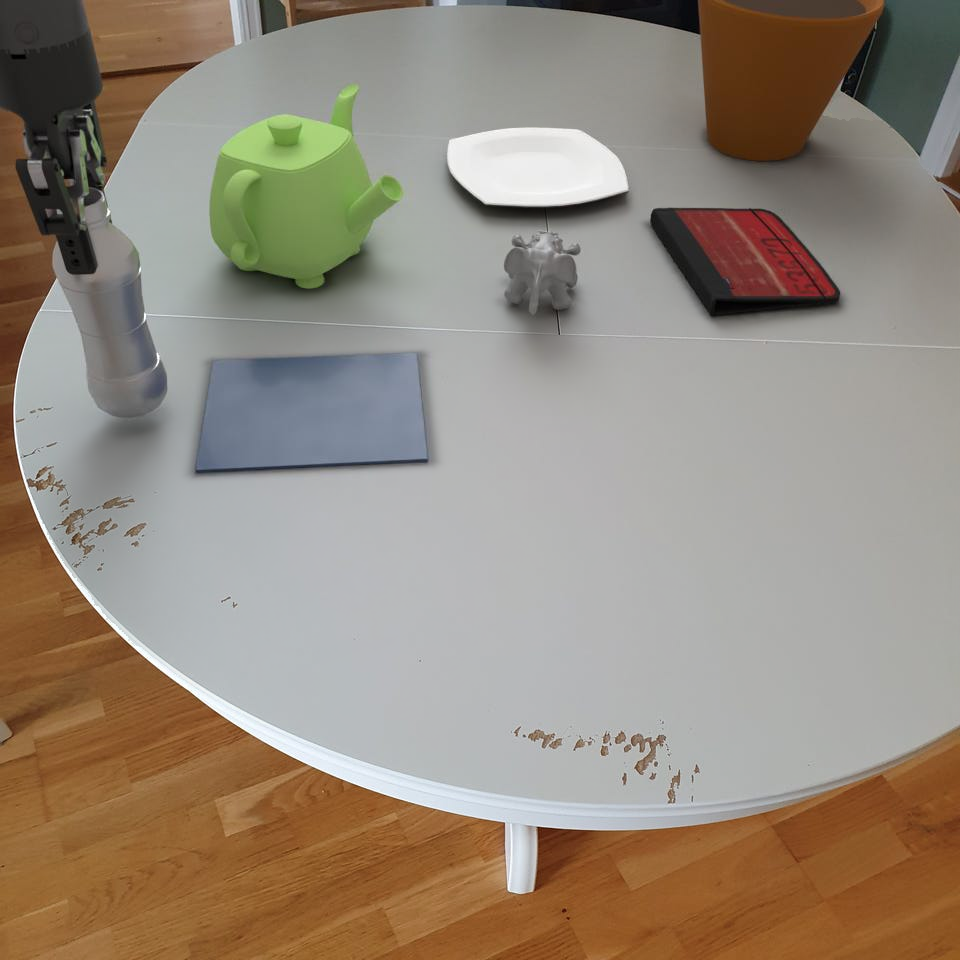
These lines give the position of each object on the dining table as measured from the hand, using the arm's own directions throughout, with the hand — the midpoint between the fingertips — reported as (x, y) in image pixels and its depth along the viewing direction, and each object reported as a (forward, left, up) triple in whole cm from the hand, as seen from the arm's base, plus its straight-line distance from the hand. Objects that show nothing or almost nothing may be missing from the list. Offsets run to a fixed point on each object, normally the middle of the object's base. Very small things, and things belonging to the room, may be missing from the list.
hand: (91, 250), depth 74 cm
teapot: (+17, +28, -17) cm, 37 cm away
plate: (+44, +47, -17) cm, 67 cm away
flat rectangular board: (+16, 0, -17) cm, 23 cm away
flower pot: (+78, +58, -17) cm, 99 cm away
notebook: (+65, +24, -17) cm, 71 cm away
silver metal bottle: (0, 0, -16) cm, 16 cm away
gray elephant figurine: (+40, +16, -17) cm, 46 cm away
